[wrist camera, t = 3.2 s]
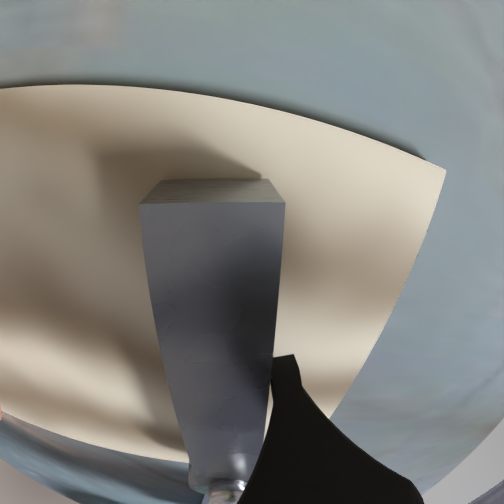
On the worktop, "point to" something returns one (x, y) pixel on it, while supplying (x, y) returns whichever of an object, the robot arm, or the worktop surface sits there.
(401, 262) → the hinge board
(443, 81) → the worktop surface
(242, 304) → the link
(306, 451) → the robot arm
